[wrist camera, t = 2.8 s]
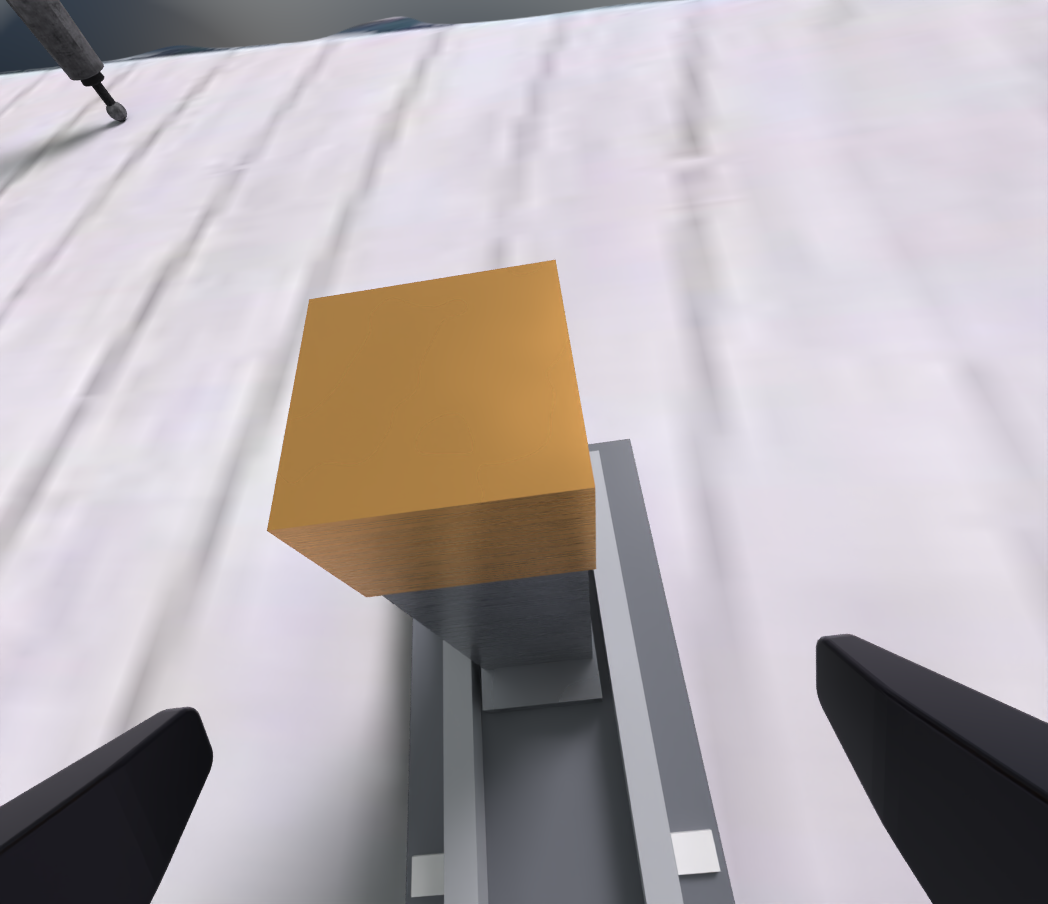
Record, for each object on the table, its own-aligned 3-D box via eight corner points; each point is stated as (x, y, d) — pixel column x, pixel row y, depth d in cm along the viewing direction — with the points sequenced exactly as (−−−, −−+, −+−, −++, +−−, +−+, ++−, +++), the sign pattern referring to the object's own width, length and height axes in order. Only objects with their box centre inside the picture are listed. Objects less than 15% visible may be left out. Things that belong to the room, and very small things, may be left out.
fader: (602, 701, 15) (611, 582, 4) (490, 713, 15) (249, 625, 5) (577, 535, 17) (547, 214, 7) (483, 547, 17) (317, 253, 7)
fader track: (780, 1174, 11) (839, 1309, 9) (425, 1191, 12) (373, 1324, 9) (627, 464, 21) (631, 420, 18) (431, 491, 21) (406, 452, 18)
